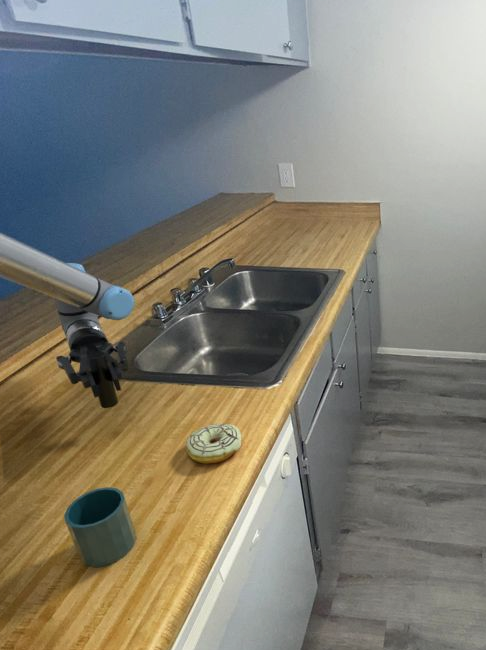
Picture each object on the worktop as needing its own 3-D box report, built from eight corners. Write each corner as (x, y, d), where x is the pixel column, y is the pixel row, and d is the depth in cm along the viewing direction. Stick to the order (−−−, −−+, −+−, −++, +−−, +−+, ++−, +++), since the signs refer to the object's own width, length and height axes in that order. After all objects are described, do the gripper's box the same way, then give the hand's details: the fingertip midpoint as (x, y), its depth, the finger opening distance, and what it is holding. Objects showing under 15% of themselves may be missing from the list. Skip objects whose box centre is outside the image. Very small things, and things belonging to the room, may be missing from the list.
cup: (77, 541, 78) (61, 502, 74) (130, 518, 83) (118, 480, 79) (84, 576, 73) (68, 536, 69) (141, 549, 77) (129, 510, 73)
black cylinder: (99, 402, 101) (85, 353, 95) (116, 397, 103) (103, 349, 97) (102, 410, 99) (87, 360, 93) (119, 404, 100) (106, 356, 95)
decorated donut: (251, 452, 99) (249, 438, 97) (199, 475, 93) (196, 460, 91) (230, 427, 106) (228, 413, 104) (181, 447, 99) (178, 433, 98)
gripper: (130, 346, 116) (154, 390, 100) (50, 365, 107) (63, 417, 91) (123, 319, 113) (147, 360, 97) (40, 336, 103) (51, 384, 87)
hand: (106, 387), depth 94 cm, fingers closed on black cylinder, 3 cm apart
